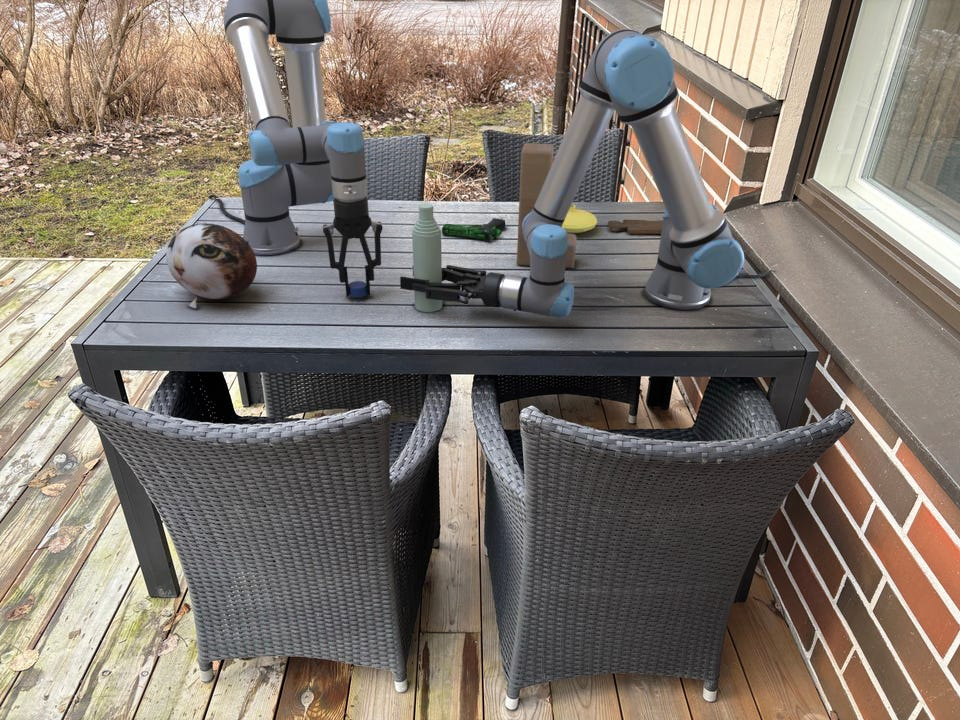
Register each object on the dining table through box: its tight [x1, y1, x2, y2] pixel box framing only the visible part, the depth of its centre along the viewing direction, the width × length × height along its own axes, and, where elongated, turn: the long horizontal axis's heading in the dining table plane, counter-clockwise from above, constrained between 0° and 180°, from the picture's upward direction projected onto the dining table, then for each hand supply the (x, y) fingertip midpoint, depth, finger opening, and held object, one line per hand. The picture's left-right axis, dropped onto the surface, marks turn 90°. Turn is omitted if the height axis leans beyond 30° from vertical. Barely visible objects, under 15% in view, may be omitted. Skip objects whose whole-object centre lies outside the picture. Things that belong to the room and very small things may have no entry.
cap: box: [348, 280, 367, 298], centre depth 168 cm, size 4×4×2 cm
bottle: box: [411, 203, 443, 313], centre depth 160 cm, size 6×6×24 cm
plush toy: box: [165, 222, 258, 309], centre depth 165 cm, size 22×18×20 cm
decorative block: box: [516, 142, 577, 269], centre depth 181 cm, size 8×15×30 cm, turn 82°
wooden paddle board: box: [607, 219, 663, 235], centre depth 211 cm, size 26×2×10 cm
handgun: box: [441, 217, 506, 242], centre depth 207 cm, size 16×3×15 cm
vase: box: [561, 203, 598, 234], centre depth 209 cm, size 16×16×7 cm
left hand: (358, 293), depth 169 cm, fingers closed on cap, 4 cm apart
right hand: (407, 276), depth 164 cm, fingers closed on bottle, 6 cm apart
